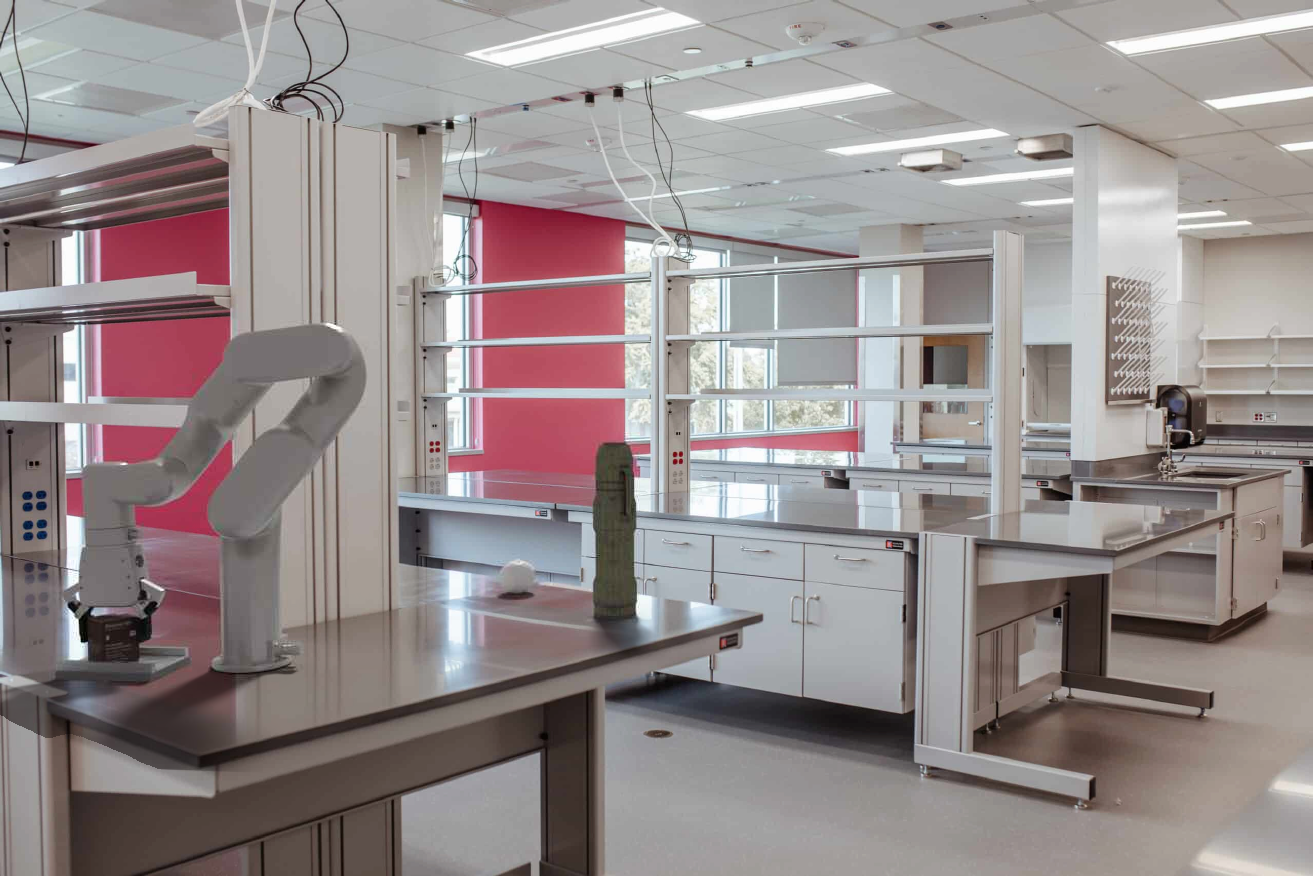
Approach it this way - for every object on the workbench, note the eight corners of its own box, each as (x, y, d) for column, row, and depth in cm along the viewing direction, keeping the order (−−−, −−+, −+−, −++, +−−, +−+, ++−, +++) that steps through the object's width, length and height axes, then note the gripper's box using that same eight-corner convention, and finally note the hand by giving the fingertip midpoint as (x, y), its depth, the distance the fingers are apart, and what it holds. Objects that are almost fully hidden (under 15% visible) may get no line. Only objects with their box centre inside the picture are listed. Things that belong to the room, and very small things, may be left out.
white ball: (532, 589, 252) (532, 555, 251) (538, 595, 245) (538, 561, 244) (497, 591, 250) (497, 557, 249) (502, 597, 242) (501, 562, 242)
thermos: (612, 607, 231) (611, 440, 229) (650, 616, 222) (649, 443, 221) (579, 613, 225) (578, 442, 223) (617, 622, 216) (616, 444, 215)
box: (102, 667, 177) (101, 622, 176) (87, 661, 181) (85, 617, 180) (140, 660, 181) (139, 616, 181) (125, 654, 185) (123, 611, 185)
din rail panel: (190, 662, 186) (189, 646, 186) (150, 682, 174) (149, 664, 174) (100, 660, 187) (100, 644, 187) (55, 679, 176) (54, 662, 175)
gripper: (173, 533, 183) (178, 635, 184) (75, 534, 184) (80, 635, 185) (147, 540, 175) (153, 646, 176) (46, 541, 177) (51, 646, 178)
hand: (116, 641), depth 181 cm, fingers open, 9 cm apart
